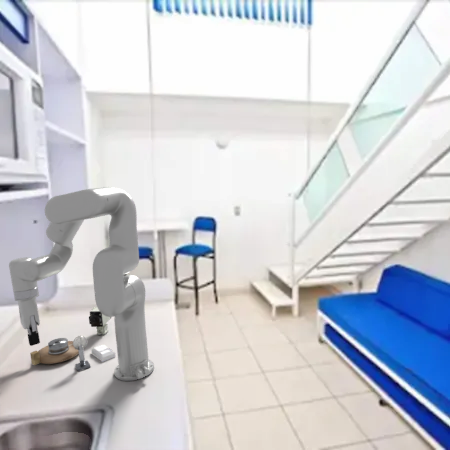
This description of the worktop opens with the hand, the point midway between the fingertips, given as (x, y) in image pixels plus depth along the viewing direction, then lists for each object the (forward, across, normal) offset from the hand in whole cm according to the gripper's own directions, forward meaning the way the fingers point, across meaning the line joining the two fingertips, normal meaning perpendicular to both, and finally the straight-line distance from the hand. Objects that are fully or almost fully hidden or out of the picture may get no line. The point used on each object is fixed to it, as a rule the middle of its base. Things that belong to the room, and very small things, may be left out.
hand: (34, 343), depth 132 cm
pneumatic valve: (+7, -8, +25) cm, 27 cm away
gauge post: (+7, +16, +11) cm, 21 cm away
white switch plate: (+8, +12, +20) cm, 24 cm away
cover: (+4, +2, +7) cm, 9 cm away
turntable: (+6, +2, +6) cm, 8 cm away
